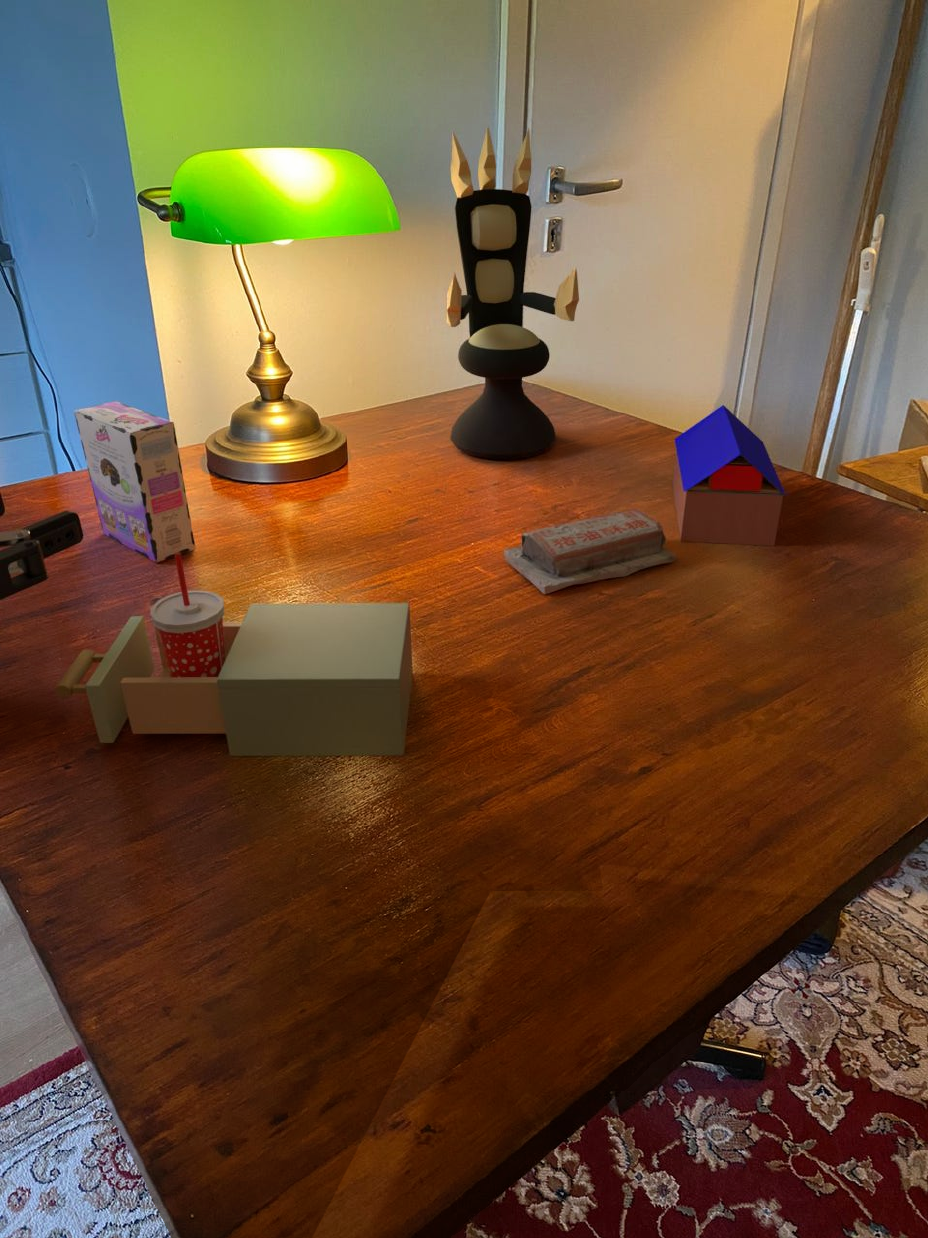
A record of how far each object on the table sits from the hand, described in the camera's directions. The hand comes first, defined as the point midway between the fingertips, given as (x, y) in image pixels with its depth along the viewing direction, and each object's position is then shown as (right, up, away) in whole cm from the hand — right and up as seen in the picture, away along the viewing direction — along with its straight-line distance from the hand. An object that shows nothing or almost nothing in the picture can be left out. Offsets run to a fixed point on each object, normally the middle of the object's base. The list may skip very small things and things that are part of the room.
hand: (37, 511), depth 63 cm
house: (+64, +6, +58) cm, 86 cm away
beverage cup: (+6, -14, +19) cm, 24 cm away
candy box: (-10, +2, +52) cm, 53 cm away
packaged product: (+44, -1, +46) cm, 64 cm away
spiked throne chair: (+35, +21, +85) cm, 94 cm away
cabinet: (+17, -16, +20) cm, 31 cm away
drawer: (+3, -15, +19) cm, 25 cm away
